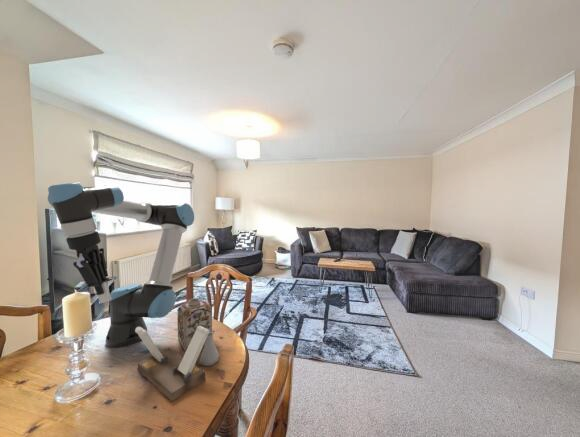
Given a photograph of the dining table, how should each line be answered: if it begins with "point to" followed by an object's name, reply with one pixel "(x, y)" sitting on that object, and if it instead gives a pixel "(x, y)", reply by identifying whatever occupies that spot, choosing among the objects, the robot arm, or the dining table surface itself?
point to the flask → (209, 352)
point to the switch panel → (170, 374)
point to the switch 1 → (149, 343)
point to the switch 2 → (193, 350)
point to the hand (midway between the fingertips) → (106, 301)
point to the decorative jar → (193, 319)
